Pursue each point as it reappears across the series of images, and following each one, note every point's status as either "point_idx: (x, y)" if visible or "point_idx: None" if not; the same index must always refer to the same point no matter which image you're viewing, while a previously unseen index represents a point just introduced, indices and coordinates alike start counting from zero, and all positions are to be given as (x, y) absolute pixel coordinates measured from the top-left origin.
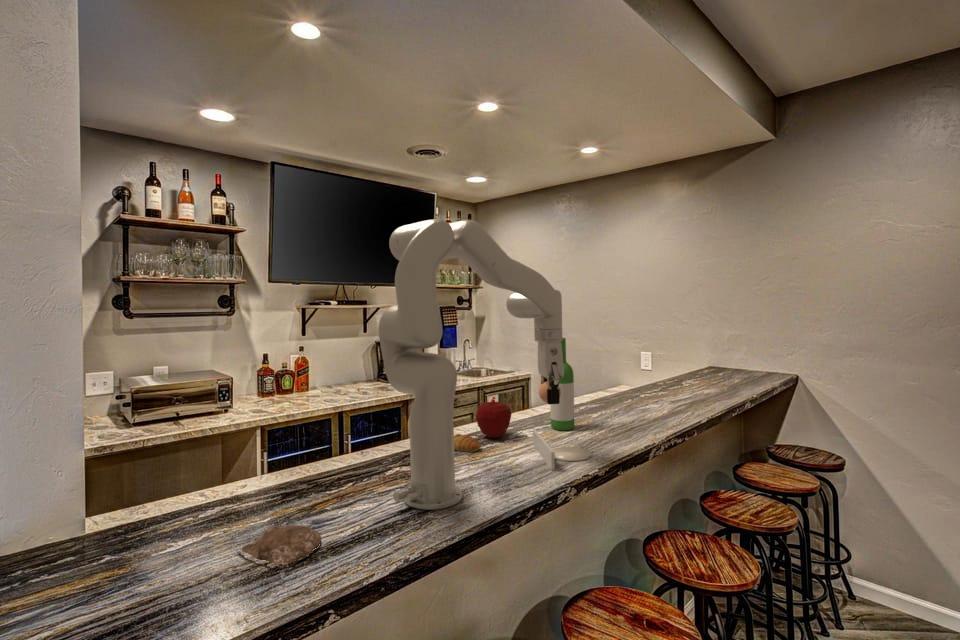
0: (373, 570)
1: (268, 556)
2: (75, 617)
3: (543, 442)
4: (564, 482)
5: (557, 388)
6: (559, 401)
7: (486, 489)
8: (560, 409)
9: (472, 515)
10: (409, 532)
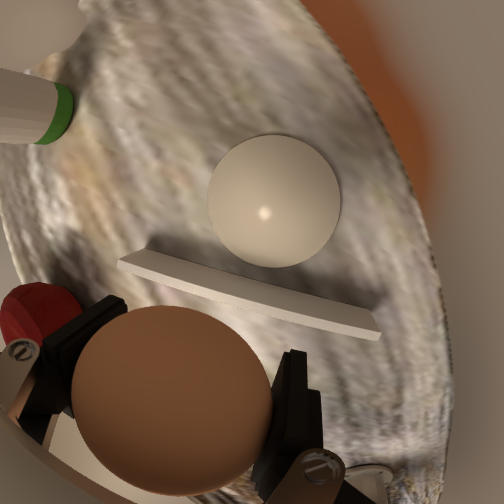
0: (436, 493)
1: None
2: None
3: (270, 315)
4: (438, 323)
5: (334, 470)
6: (306, 359)
7: (373, 441)
8: (25, 120)
9: (426, 456)
10: (409, 489)
